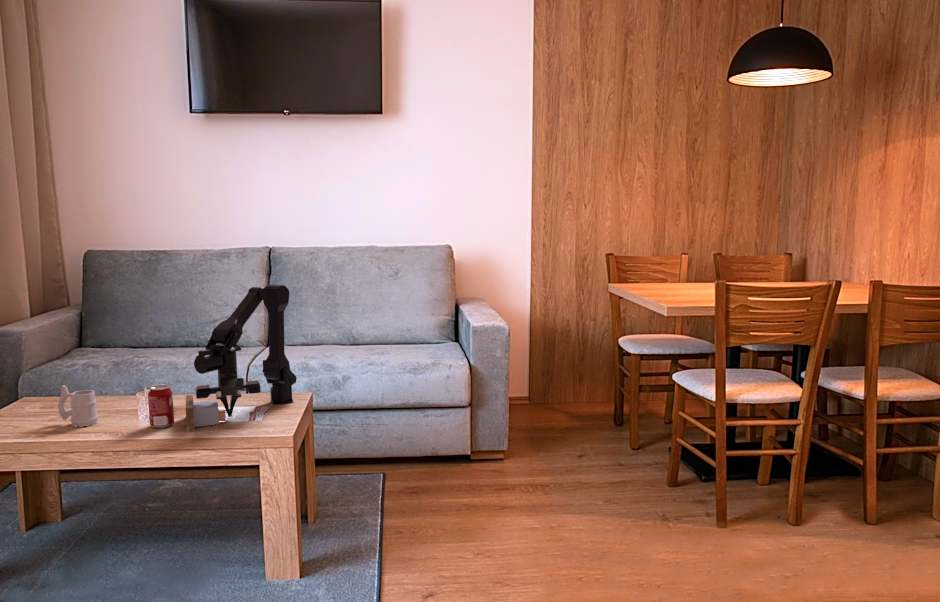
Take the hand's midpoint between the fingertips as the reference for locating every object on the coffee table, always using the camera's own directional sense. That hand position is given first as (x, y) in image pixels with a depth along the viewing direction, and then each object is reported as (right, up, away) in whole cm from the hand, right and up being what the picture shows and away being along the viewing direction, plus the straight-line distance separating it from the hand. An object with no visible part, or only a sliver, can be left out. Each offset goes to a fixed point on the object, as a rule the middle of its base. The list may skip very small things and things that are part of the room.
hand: (229, 416), depth 224 cm
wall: (-11, -2, -4) cm, 11 cm away
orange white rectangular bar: (-5, -2, -2) cm, 6 cm away
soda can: (-19, -2, -6) cm, 19 cm away
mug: (-45, -2, -3) cm, 45 cm away
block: (-6, -1, -2) cm, 7 cm away
